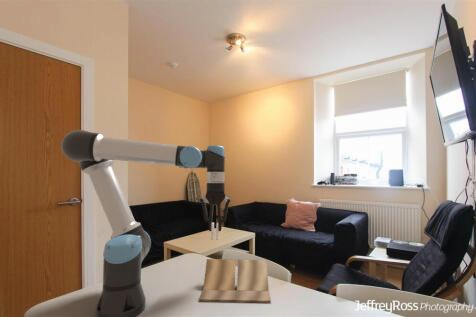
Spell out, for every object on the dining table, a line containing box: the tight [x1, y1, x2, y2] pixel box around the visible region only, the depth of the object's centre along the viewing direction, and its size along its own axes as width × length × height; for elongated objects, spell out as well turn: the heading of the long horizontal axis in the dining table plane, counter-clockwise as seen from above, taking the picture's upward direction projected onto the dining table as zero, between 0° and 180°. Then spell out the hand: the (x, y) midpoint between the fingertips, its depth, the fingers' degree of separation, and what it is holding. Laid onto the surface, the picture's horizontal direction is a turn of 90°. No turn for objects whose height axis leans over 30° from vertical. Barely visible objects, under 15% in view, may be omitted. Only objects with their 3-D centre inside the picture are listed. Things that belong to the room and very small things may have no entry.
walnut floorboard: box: [199, 289, 272, 304], centre depth 89 cm, size 25×8×2 cm, turn 88°
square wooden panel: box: [236, 259, 270, 292], centre depth 98 cm, size 12×12×2 cm
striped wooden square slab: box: [202, 258, 237, 291], centre depth 98 cm, size 12×12×2 cm
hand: (215, 238), depth 102 cm, fingers closed
